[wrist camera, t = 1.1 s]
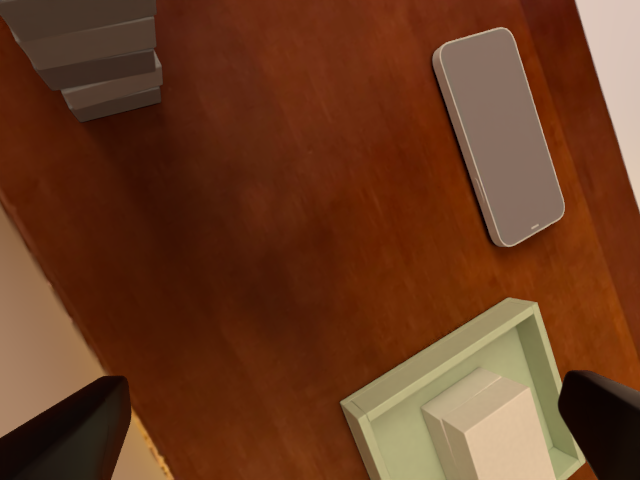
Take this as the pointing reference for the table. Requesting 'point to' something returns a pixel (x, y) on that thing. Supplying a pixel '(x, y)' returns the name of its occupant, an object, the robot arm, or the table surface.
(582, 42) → the table surface
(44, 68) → the grey book stack
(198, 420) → the table surface
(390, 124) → the table surface
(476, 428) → the white book stack
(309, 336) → the table surface
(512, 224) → the smartphone
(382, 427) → the tray
